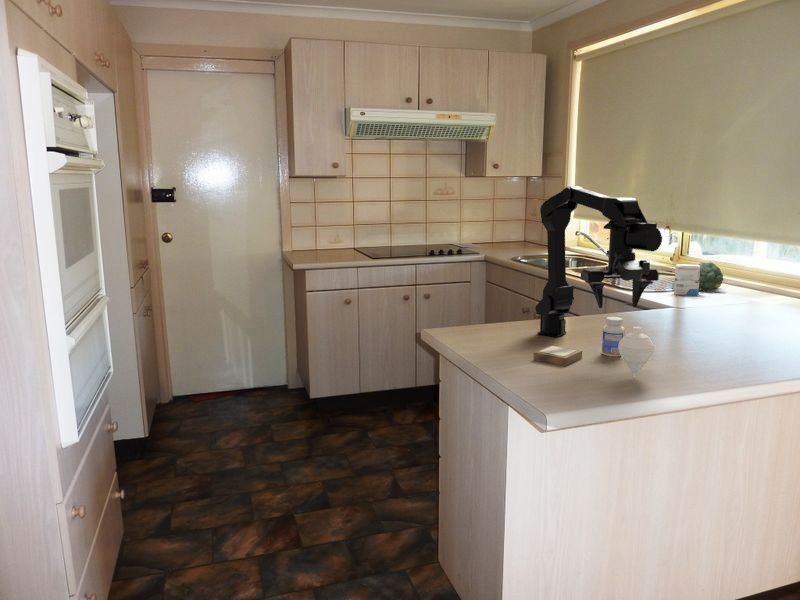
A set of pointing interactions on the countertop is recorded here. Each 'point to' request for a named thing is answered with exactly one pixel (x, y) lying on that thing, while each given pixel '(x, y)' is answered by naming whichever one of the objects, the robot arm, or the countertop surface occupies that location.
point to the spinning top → (635, 350)
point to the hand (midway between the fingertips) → (617, 307)
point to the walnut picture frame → (557, 355)
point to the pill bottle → (612, 336)
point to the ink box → (687, 279)
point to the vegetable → (709, 276)
